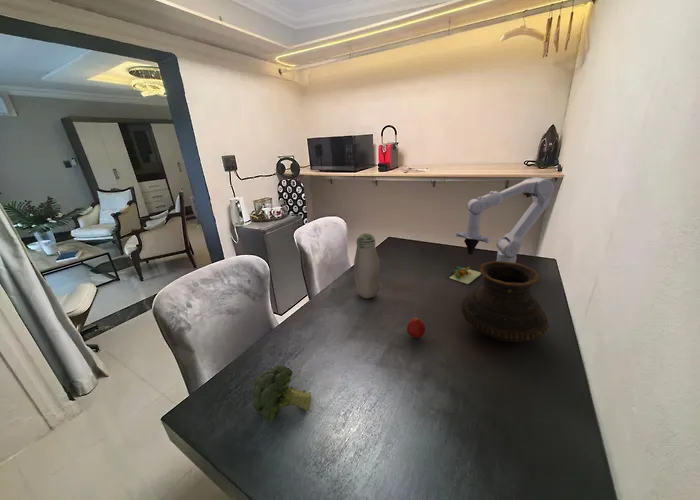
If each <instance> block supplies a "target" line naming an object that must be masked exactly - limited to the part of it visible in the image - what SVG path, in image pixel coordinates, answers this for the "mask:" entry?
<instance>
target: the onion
mask: <svg viewBox="0 0 700 500" xmlns="http://www.w3.org/2000/svg"><path fill="white" fill-rule="evenodd" d="M425 332H426V326H425V323H424V322H423V321H422V320H421V319H419V318H418V317H414V318H412V319H410V320H409V321H408V323H407V324H406V333H408V335H409V336H410V337H412V338H414V339H420V338H422V337H423V336H424V335H425Z"/></svg>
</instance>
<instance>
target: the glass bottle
mask: <svg viewBox="0 0 700 500" xmlns="http://www.w3.org/2000/svg"><path fill="white" fill-rule="evenodd" d="M380 265H381V264H380V259H379V256H378V252H377V247H376V238H375V236H374V235H373V234H372V233H362V234H360V235H359V236H358V237H357V238H356V248H355V255H354V259H353V269H354V281H355V289H356V292H357V295H359V296H360V297H361V298H363V299H372V298H374V297H376V296H377V295H378V293H379V291H380V287H381V277H380V272H381V271H380V269H381V268H380V267H381V266H380Z"/></svg>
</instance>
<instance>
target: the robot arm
mask: <svg viewBox="0 0 700 500" xmlns="http://www.w3.org/2000/svg"><path fill="white" fill-rule="evenodd" d="M555 190H556V188H555V184H554V182H553V181H552V179H551V180H550V179H547V178H542V177H539V176H532V177H530V178H527V179H524V180H522V181H521V182H518V183H516V184H514V185H513V186H510V187H508V188H506V189H503V190H502V191H501V190H500V191H497V190H494V191H493V190H491V191H489V192H488V193H486V194H485V195H482V196H478V197H477V198H472V199H470V200H469V201H468V202H467V204H466V209H467V216H466V217H467V218H466V228H465V232H464V231H463V232H461V231H457V232H456V235H455V237H456V238H463V239H464V241H463V242H464V244H465V245H466V246H465V247H466V249H467V250H466V251H467V254H468V255H469V256H470V255H473V254H474V251H475V249H476V248H477V245H478V244H479V243H480V242H482V243H485V244H489V243H490V239H491V238H490V237H488V236H484V235H481V234H480V233H481V227H482V226H481V225H482V218H483V217H482V215H483V213H484V211H485V210H487V209H490V208H492V207H495V206H497V205H500V204H501V203H502V201H503V200H505V199H508V198H511V197H513V196H517V195H520V194H522V193H527V194H530V195H531V199H532V203H531V204H530V205H529V207H528V208H527V209H526V210H525V212H524V213H523V214H522V216H521V217H520V219H518V221H517V222H516V224H515V225H514V226H513V228H512V229H511V230H510V231H509V232H507V233H505V234H504V236H502V237H500V238H499V239H498V240H497V242H496V247H497V249H498V250H497V254H496V260H495V261H504V262H511V263H517V255H518V254H519V252H520V248H521V247H522V245H523V238H524V237H525V235H526V234H527V233H528V232H529V231H530V229H531V228H532V227H533V226H534V225H535V223H536V222H537V220H538V219H539V218H540V216H541V215H542V214H543V213H544V211H545V210H546V209H547V208H548V207H549V205H550V203H551V199H552V195H553V193H554V191H555Z"/></svg>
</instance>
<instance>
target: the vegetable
mask: <svg viewBox="0 0 700 500" xmlns="http://www.w3.org/2000/svg"><path fill="white" fill-rule="evenodd" d="M292 376H293V370H292V369H290V367H288V366H286V365H282V364H281V365H275V366H273V367H270V368H267V369H266V370H265V371H263V372H261V374H259V375H258V376H256V378H255V379H254V381H253V389H252V399H253V400H252V406H253V409H255V411H256V414H257V415H258V416H259V417H260V418H262V419H264V420H266V421H268V422H270V423H274V421H276V416H277V412H278V411H279V410H280V409H281V408H285V407H287V406H295V407H296V408H300V409H302V410H305V412H307V411H308V410H309V409H310V406H311V401H312V393H311V391H310V392H309V391H308V392H307V391H306V390H305V389H304V390H302V391H301V390H297V388H295V387H293V386H289V383H290V382H291V381H292Z"/></svg>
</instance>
